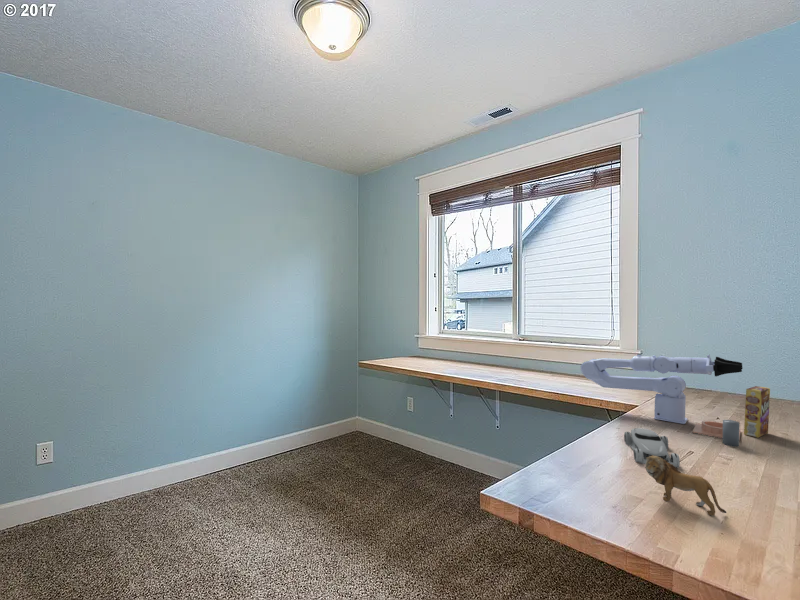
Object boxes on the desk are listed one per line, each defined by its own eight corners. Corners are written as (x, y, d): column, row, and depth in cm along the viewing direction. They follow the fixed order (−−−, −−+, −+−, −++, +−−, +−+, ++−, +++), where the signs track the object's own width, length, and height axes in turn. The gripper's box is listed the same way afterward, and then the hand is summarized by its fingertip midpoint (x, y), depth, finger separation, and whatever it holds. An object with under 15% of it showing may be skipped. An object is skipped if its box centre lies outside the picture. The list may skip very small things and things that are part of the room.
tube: (722, 444, 127) (722, 421, 127) (722, 441, 130) (723, 418, 130) (738, 447, 124) (739, 424, 124) (739, 444, 127) (739, 421, 127)
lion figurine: (642, 497, 93) (643, 457, 93) (647, 488, 97) (647, 450, 97) (725, 520, 83) (726, 476, 83) (727, 510, 87) (727, 467, 87)
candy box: (760, 438, 132) (761, 391, 132) (743, 434, 136) (744, 388, 136) (769, 433, 137) (770, 387, 137) (753, 430, 141) (754, 385, 141)
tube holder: (692, 432, 137) (692, 425, 137) (696, 424, 146) (696, 417, 146) (739, 441, 129) (739, 433, 129) (740, 432, 139) (740, 424, 139)
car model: (634, 464, 112) (634, 446, 112) (621, 436, 134) (622, 421, 134) (682, 471, 108) (683, 452, 108) (661, 441, 130) (661, 425, 130)
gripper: (689, 356, 142) (740, 357, 134) (694, 352, 153) (741, 353, 145) (690, 376, 142) (742, 379, 133) (695, 371, 153) (743, 373, 144)
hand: (742, 367), depth 139 cm, fingers open, 7 cm apart
